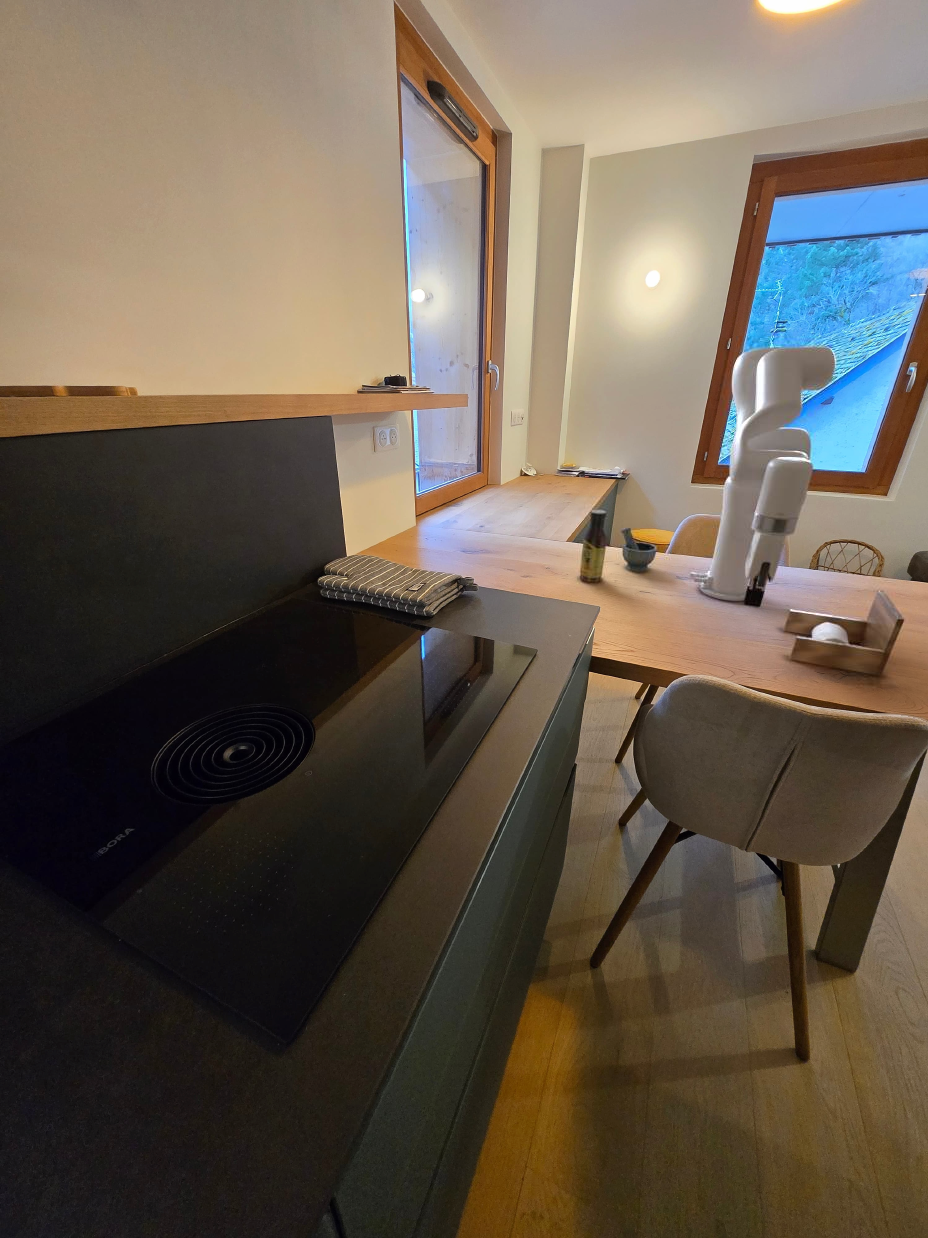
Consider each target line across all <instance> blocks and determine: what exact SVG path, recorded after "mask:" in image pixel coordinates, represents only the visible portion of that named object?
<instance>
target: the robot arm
mask: <svg viewBox="0 0 928 1238" xmlns="http://www.w3.org/2000/svg"><path fill="white" fill-rule="evenodd" d="M836 362H837V359H836V355H835V352H834V351H833V349H832V348H831V347H829V346H821V345H820V346H785V347H784V346H781V347H779V346H777V347H761V348H754V349H749V350H747V351H744V352H742V354H740V355H739V356H738V357H737V359H736V361H735V363H734V366H733V369H732V376H731V392H732V393H731V394H732V398H733V402H734V406H735V411H736V423H735V424H736V425H735V434H734V436H733V439H732V443H731V447H730V452H729V453H730V455H729V476H728V477H727V478H726V480H725V482H724V485H723V490H722V491H723V492H722V493H723V494H722V509H721V515H720V516H721V517H720V522H719V526H718V527H719V528H718V532H717V537H716V541H715V547H714V550H713V551H714V552H713V555H712V561H711V565H710V570H708V571H707V572H703V573H698V572H690V577H689V579H690V580H694V581H693V582H694V583H701V584H700V586H699V589H700V591H701V592H702V593H703V594H705V595H707V596H708V597H711V598H715V599H719V600H723V601H731V602H741V601H743V606H747V607H753V608H760V607H762V602H763V599H764V595H765V592H766V586H767V583H771V582H773V581H774V579H775V577H776V573H777V570H778V567H779V564H780V561H781V558H782V554H783V551H784V547H785V543H786V539H787V536H791V535H793V534H794V533H795V531H796V527H797V524H798V521H799V517H800V514H801V510H802V507H803V505H804V503H805V501H806V498H807V494H808V488H809V484H810V481H811V479H812V475H813V470H814V465H813V462H812V461H811V452H812V441H811V440H812V439H811V436H810V434H809V432H808V431H807V430H806V429H803V428H799V427H786V426H787V425H789V424H791V423H793V422H794V421H796V419H797V418H799V416H800V415H801V413H802V409H803V391H819V390H820V391H821V390H822V389H824V388H826V387H827V386H828V385H829V384H830V382H831V381H832V378H833V377H834V374H835V372H836V366H837V363H836Z"/></svg>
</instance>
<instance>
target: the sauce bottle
mask: <svg viewBox="0 0 928 1238" xmlns="http://www.w3.org/2000/svg"><path fill="white" fill-rule="evenodd" d="M589 516H590V521H589V527H588V529H587V531H586V533H585V535H584V537H583V541H582V550H581V559H580V567H579V577H580V579H581V580H582V581H584V582H586V583H598V582H599V581H600V582H601V580H602V576H603V570H604V564H605V563H604V562H605V556H606V555H605V554H606V549H607V545H606V543H607V537H608V535H607V532H606V530H605V529H604V528H605V520H606V517H607V511H605V510H602V509H593V510H591V511H590V515H589Z"/></svg>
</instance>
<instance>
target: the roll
mask: <svg viewBox="0 0 928 1238" xmlns="http://www.w3.org/2000/svg"><path fill="white" fill-rule="evenodd" d="M811 638H813V639H819V640H825V641H831V642H837V643H843V644H849V645H850V643H849V642H850V641H848V637H847V633H846V631H845V630H844V629H843V628H842V627H840V626H839V625H836V624H832V623H829V622H825V623H822V624H820V625H818V626H816V627H815V628H814V629H813V631H812V635H811Z"/></svg>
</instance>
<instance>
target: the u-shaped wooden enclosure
mask: <svg viewBox="0 0 928 1238" xmlns="http://www.w3.org/2000/svg"><path fill="white" fill-rule="evenodd" d="M902 615H903V614H901V612H900V611H899V609H897V606H896V605H895V604H894V603H893V601H892V600H891V599H890V597H889V596H888V594H887V593H886V592H885V590H883V589H877V591H876V593H875V596H874V599H873V601H872V604H871V606H870V610H869V612H868V615H867V618H866V620H865V619H859V618H852V617H846V616H845V617H844V616H838V615H833V614H832V615H831V614H825V613H818V612H811V611H804V610H797V609H791V608H789V610H788V613H787V615H786V620H785V623H784V626H783V631H784V632H789V633H795V634H801V635H806V636H812V631H813V629H814V628H815V627H816V626H818V625H820V624H822V623H825V622H829V623H832V624H836V625H839V626H840V627H842V628H843V629H844V630H845V631H846V633H847V637H848V642H850V643H857V644H859V645H855V644H850V643H849V644H843V643H837V642H831V641H825V640H819V639H813V638H812V637H806V636H800V635H796V636H795V639H794V641H793V645H792V648H791V651H790V655H789V660H791V661H797V662H803V663H808V664H812V665H818V666H825V667H830V668H835V669H841V670H847V671H852V672H857V673H863V674H868V675H874V676H879V677H881V676H882V675H883V672H884V670H885V668H886V665H887V663H888V660H889V658H890V655H891V654H892V652H893V648H894V646H895V644H896V642H897V639H898V636H899V634H900V632H901V630H902V627H903V624H904V622H905V618H904V617H903V616H902Z"/></svg>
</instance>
